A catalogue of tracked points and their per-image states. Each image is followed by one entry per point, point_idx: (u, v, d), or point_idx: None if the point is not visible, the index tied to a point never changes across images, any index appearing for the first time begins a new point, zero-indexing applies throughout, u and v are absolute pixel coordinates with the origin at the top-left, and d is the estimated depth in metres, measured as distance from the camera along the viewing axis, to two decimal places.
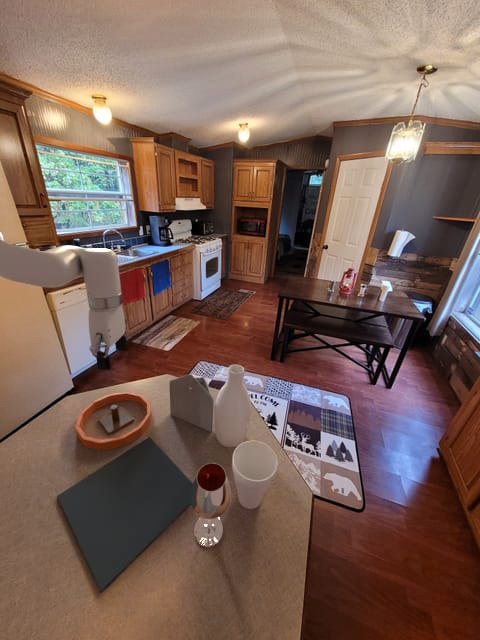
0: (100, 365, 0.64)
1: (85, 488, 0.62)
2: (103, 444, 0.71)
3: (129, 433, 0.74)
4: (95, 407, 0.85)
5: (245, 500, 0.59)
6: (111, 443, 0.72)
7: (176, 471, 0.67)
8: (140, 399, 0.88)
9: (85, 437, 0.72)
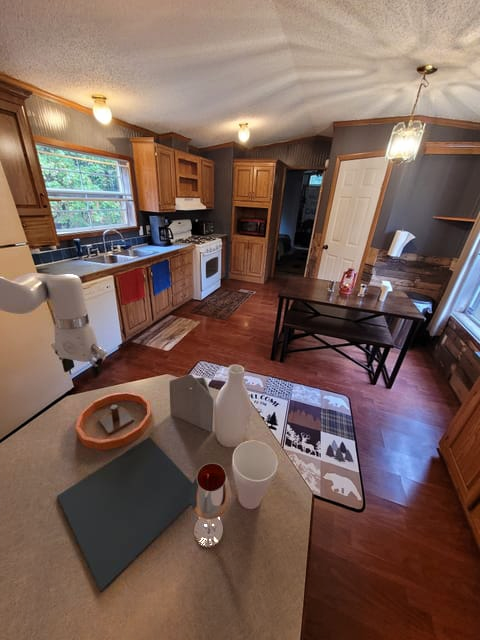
0: (99, 371, 0.74)
1: (85, 488, 0.62)
2: (103, 444, 0.71)
3: (129, 433, 0.74)
4: (95, 407, 0.85)
5: (245, 500, 0.59)
6: (111, 443, 0.72)
7: (176, 471, 0.67)
8: (140, 399, 0.88)
9: (85, 437, 0.72)
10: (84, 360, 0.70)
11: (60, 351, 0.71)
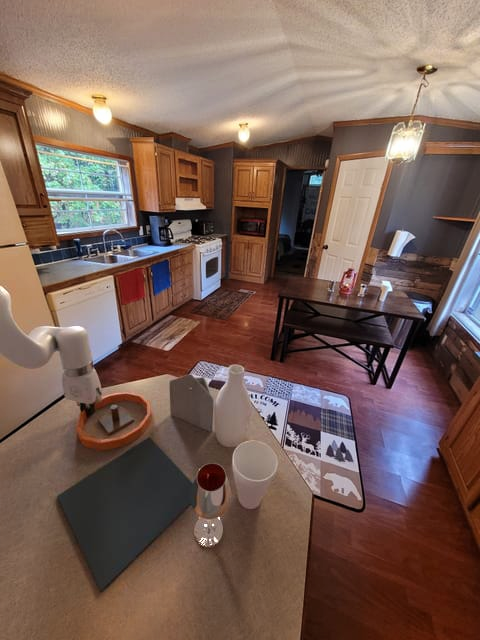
0: (91, 412, 0.82)
1: (85, 488, 0.62)
2: (103, 444, 0.71)
3: (129, 433, 0.74)
4: (95, 407, 0.85)
5: (245, 500, 0.59)
6: (111, 443, 0.72)
7: (176, 471, 0.67)
8: (140, 399, 0.88)
9: (85, 437, 0.72)
10: (89, 402, 0.77)
11: (67, 394, 0.77)
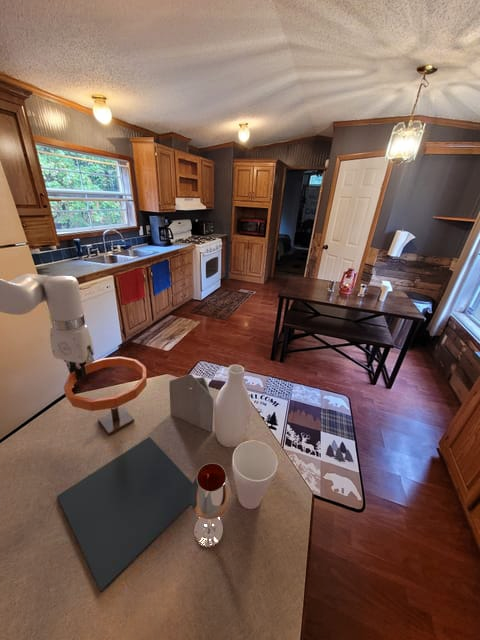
0: (82, 374, 0.75)
1: (85, 488, 0.62)
2: (94, 403, 0.65)
3: (122, 394, 0.68)
4: (86, 370, 0.79)
5: (245, 500, 0.59)
6: (103, 402, 0.66)
7: (176, 471, 0.67)
8: (135, 364, 0.82)
9: (74, 396, 0.66)
10: (79, 361, 0.70)
11: (55, 352, 0.71)
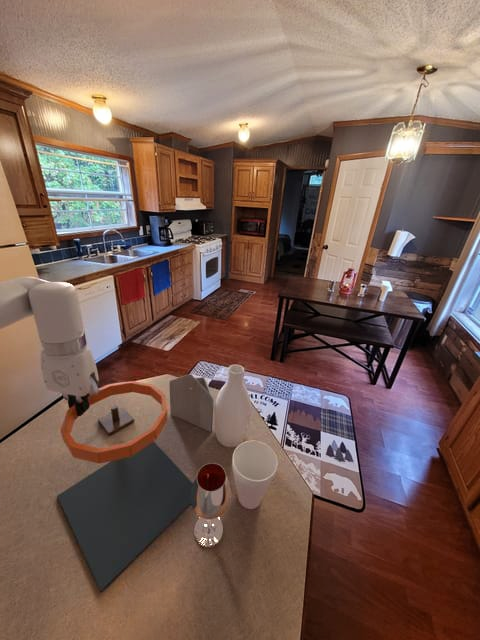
0: (85, 408, 0.58)
1: (85, 488, 0.62)
2: (102, 454, 0.48)
3: (139, 437, 0.51)
4: (90, 402, 0.62)
5: (245, 500, 0.59)
6: (114, 452, 0.49)
7: (176, 471, 0.67)
8: (151, 390, 0.65)
9: (75, 444, 0.49)
10: (80, 394, 0.53)
11: (49, 383, 0.54)
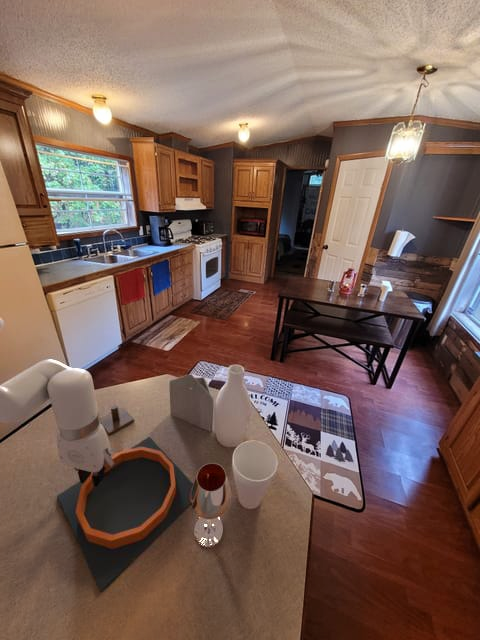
0: (101, 478, 0.60)
1: None
2: (115, 541, 0.51)
3: (150, 520, 0.54)
4: None
5: (245, 500, 0.59)
6: (126, 538, 0.51)
7: (176, 471, 0.67)
8: (160, 457, 0.68)
9: (89, 530, 0.51)
10: (94, 471, 0.56)
11: (64, 459, 0.56)
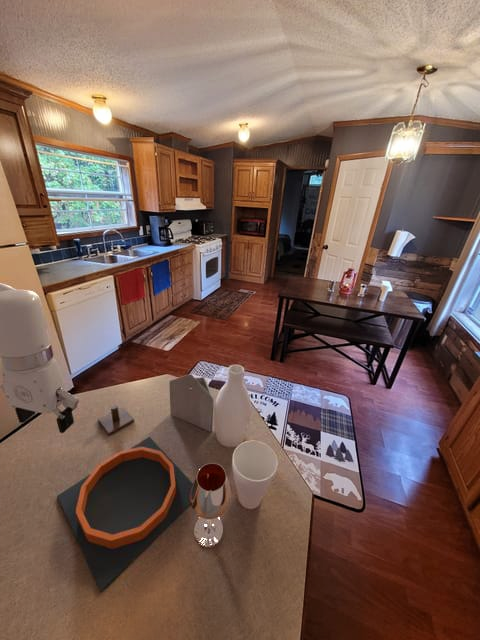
0: (68, 424, 0.53)
1: None
2: (115, 541, 0.51)
3: (150, 520, 0.54)
4: (102, 472, 0.65)
5: (245, 500, 0.59)
6: (126, 538, 0.51)
7: (176, 471, 0.67)
8: (160, 457, 0.68)
9: (89, 530, 0.51)
10: (45, 412, 0.49)
11: (11, 398, 0.49)
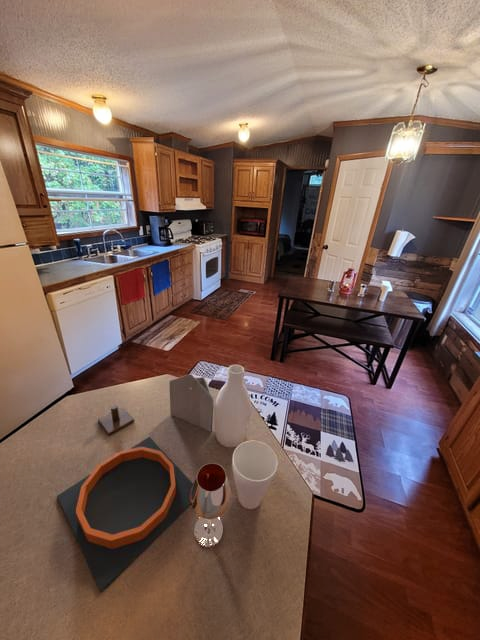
0: None
1: None
2: (115, 541, 0.51)
3: (150, 520, 0.54)
4: (102, 472, 0.65)
5: (245, 500, 0.59)
6: (126, 538, 0.51)
7: (176, 471, 0.67)
8: (160, 457, 0.68)
9: (89, 530, 0.51)
10: None
11: None
